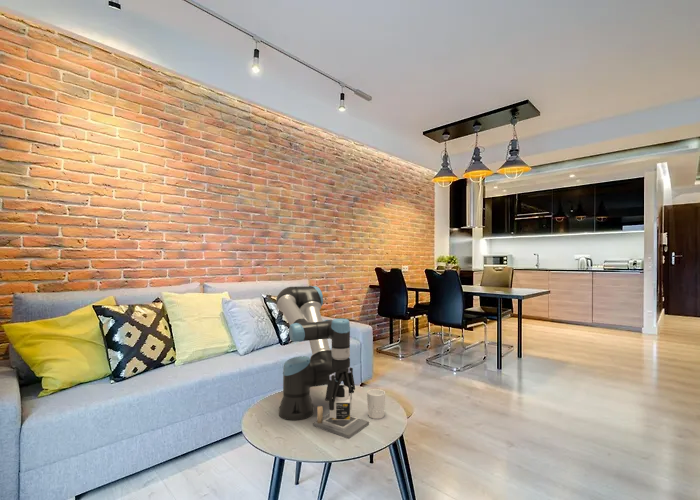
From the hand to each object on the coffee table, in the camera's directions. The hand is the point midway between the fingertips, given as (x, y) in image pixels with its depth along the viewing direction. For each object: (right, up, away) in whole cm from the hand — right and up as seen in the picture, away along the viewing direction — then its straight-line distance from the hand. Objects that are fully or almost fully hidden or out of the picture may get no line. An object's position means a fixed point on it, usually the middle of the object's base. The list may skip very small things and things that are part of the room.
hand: (340, 413), depth 142 cm
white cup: (+15, -5, +9) cm, 18 cm away
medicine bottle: (0, -2, 0) cm, 2 cm away
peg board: (0, -5, 0) cm, 5 cm away
